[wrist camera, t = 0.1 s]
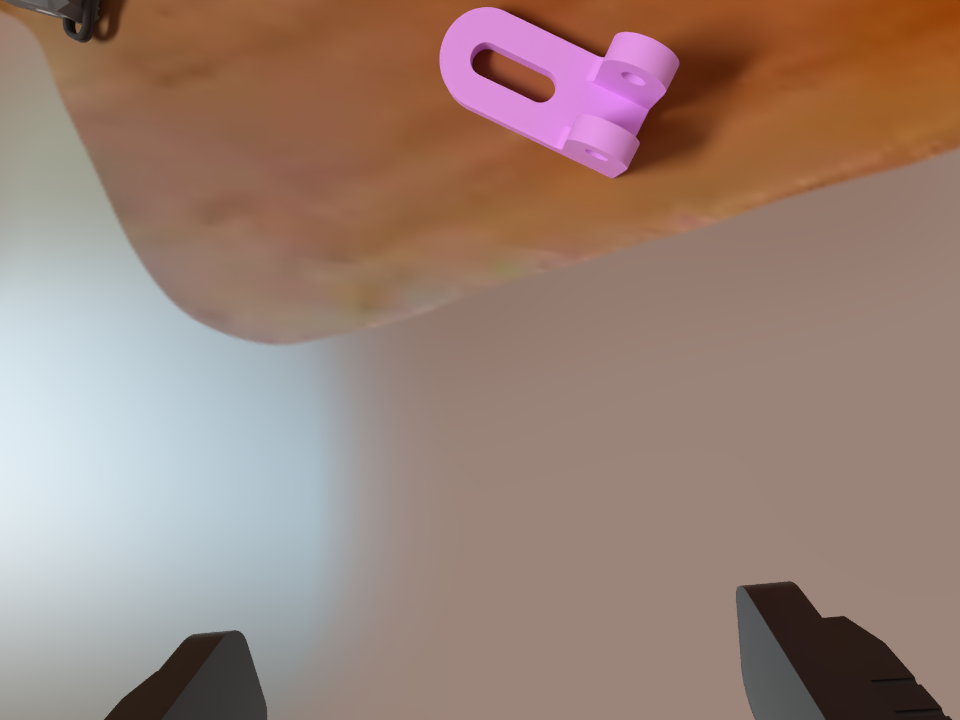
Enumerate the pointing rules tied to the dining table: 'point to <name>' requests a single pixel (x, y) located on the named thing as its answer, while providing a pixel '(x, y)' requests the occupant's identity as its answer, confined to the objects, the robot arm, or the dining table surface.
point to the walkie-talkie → (67, 14)
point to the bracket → (561, 86)
